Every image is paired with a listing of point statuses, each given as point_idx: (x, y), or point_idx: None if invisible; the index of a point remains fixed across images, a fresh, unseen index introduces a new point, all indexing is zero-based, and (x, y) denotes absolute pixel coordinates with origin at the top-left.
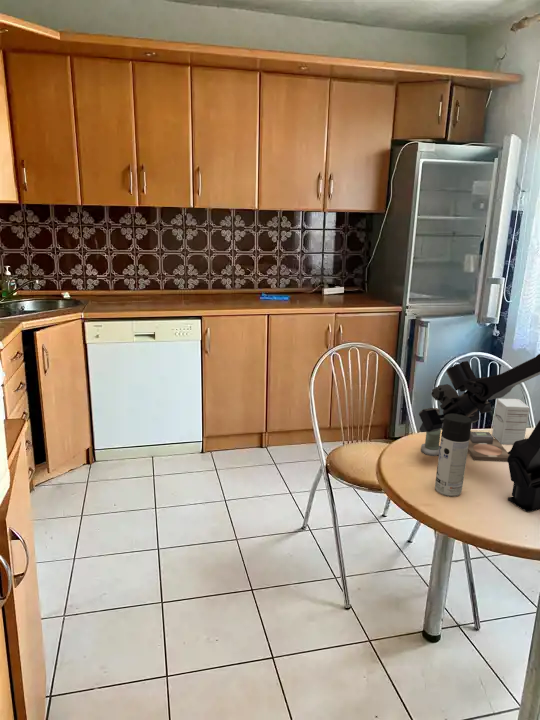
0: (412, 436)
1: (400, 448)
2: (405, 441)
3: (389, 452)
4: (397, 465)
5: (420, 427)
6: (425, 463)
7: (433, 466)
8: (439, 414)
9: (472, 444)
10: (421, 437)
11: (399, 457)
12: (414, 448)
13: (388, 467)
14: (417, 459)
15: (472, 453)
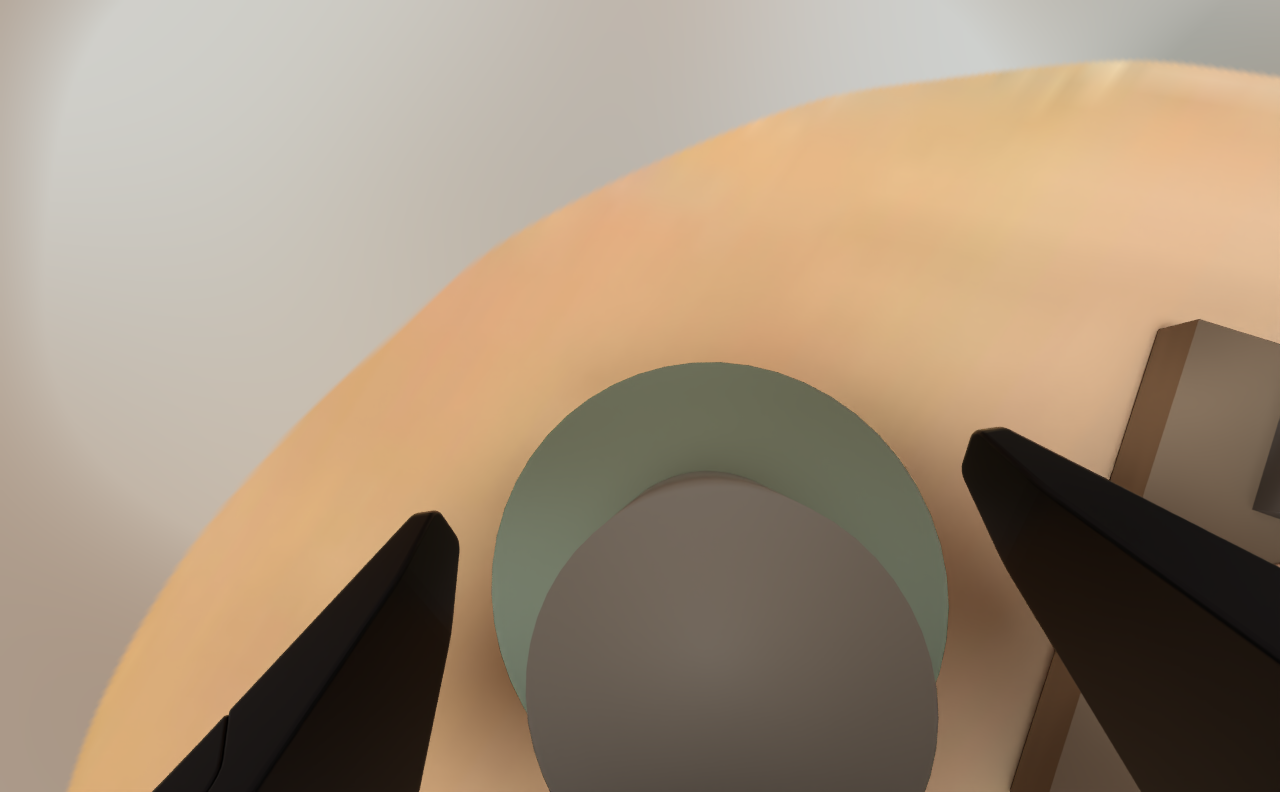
0: (725, 142)
1: (471, 348)
2: (598, 227)
3: (339, 396)
4: (259, 639)
5: (374, 563)
6: (502, 685)
7: (534, 764)
8: (912, 538)
9: (1228, 539)
10: (797, 178)
11: (361, 507)
12: (590, 380)
13: (174, 648)
14: (482, 590)
15: (1070, 748)
